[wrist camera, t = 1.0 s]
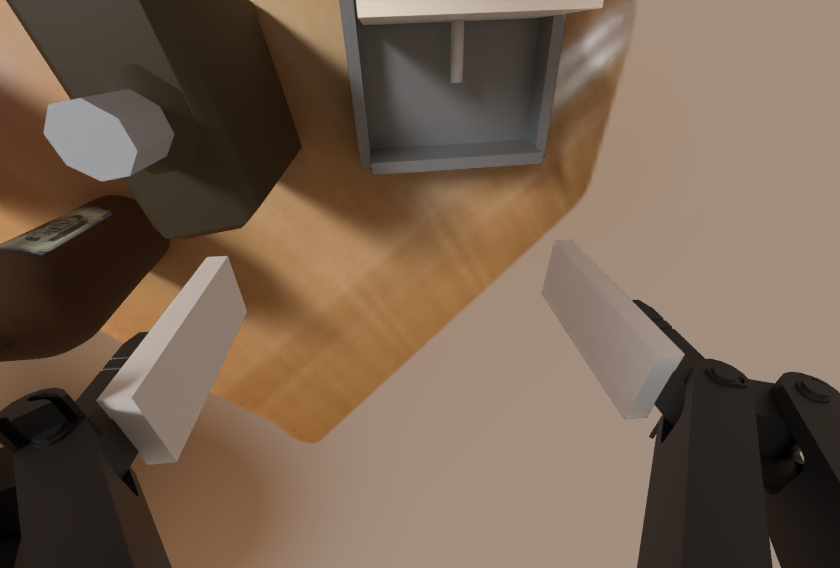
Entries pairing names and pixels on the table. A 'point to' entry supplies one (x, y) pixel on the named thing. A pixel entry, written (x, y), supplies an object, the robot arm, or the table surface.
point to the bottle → (167, 104)
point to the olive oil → (72, 276)
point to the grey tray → (451, 92)
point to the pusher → (463, 15)
